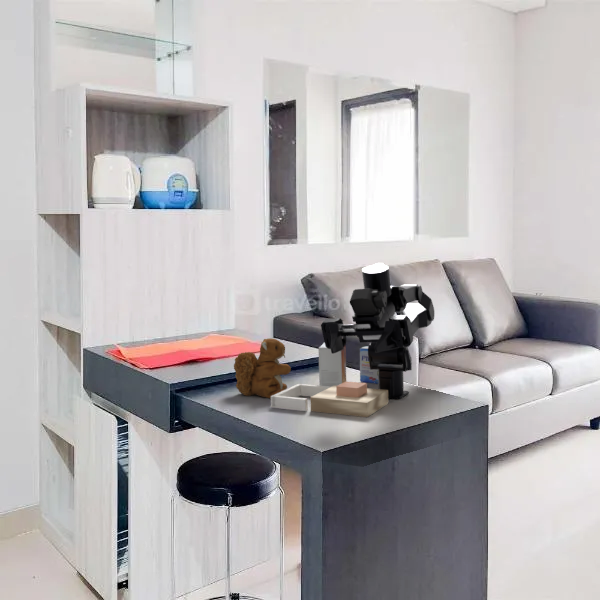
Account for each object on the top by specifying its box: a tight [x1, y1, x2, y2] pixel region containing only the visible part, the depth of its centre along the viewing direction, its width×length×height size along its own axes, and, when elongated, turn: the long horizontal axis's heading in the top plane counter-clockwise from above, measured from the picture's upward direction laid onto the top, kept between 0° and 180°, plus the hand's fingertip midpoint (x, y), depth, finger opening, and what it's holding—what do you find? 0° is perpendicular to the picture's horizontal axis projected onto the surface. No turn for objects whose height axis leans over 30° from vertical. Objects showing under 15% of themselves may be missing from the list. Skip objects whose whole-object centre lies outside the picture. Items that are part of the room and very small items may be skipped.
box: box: [270, 383, 330, 412], centre depth 163 cm, size 13×8×2 cm, turn 152°
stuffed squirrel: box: [233, 337, 292, 399], centre depth 172 cm, size 10×14×13 cm
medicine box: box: [359, 345, 378, 385], centre depth 180 cm, size 8×4×9 cm, turn 56°
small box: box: [318, 341, 347, 387], centre depth 176 cm, size 8×6×10 cm
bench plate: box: [309, 385, 389, 418], centre depth 157 cm, size 12×13×3 cm
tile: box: [336, 380, 368, 397], centre depth 157 cm, size 5×5×2 cm
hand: (353, 350), depth 143 cm, fingers open, 9 cm apart
